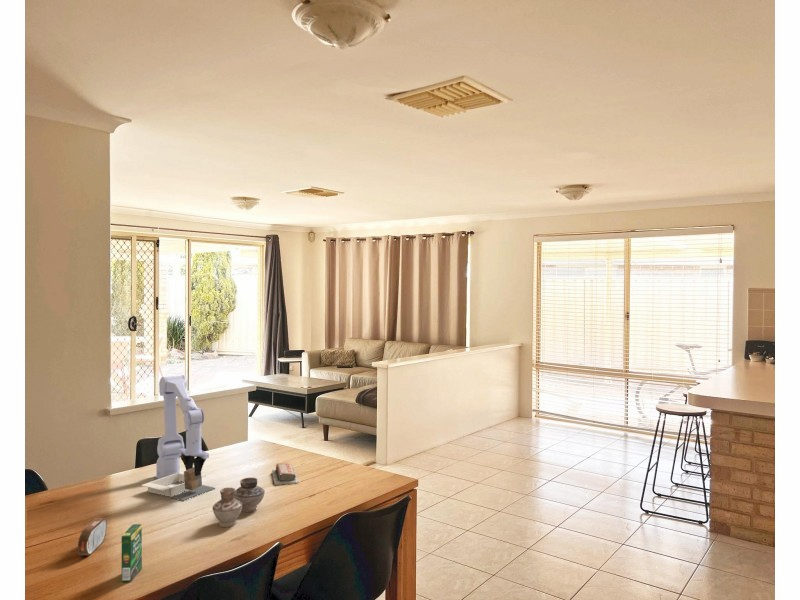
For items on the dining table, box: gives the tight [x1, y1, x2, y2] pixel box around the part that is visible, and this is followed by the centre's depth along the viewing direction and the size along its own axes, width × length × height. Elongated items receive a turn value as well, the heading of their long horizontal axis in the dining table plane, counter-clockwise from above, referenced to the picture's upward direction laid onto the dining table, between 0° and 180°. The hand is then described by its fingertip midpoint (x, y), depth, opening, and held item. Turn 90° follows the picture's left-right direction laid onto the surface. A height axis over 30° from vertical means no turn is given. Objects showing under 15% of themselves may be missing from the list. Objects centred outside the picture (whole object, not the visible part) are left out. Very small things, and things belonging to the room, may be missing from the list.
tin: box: [77, 517, 108, 557], centre depth 177 cm, size 15×3×8 cm, turn 5°
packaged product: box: [271, 462, 300, 486], centre depth 247 cm, size 18×5×10 cm
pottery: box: [212, 477, 266, 528], centre depth 205 cm, size 11×25×12 cm, turn 166°
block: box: [183, 466, 203, 490], centre depth 227 cm, size 4×5×7 cm
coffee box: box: [121, 523, 143, 583], centre depth 161 cm, size 8×3×13 cm, turn 3°
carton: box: [140, 470, 207, 498], centre depth 232 cm, size 13×21×4 cm, turn 152°
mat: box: [170, 484, 216, 502], centre depth 227 cm, size 7×16×1 cm, turn 152°
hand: (193, 474), depth 227 cm, fingers closed on block, 4 cm apart
